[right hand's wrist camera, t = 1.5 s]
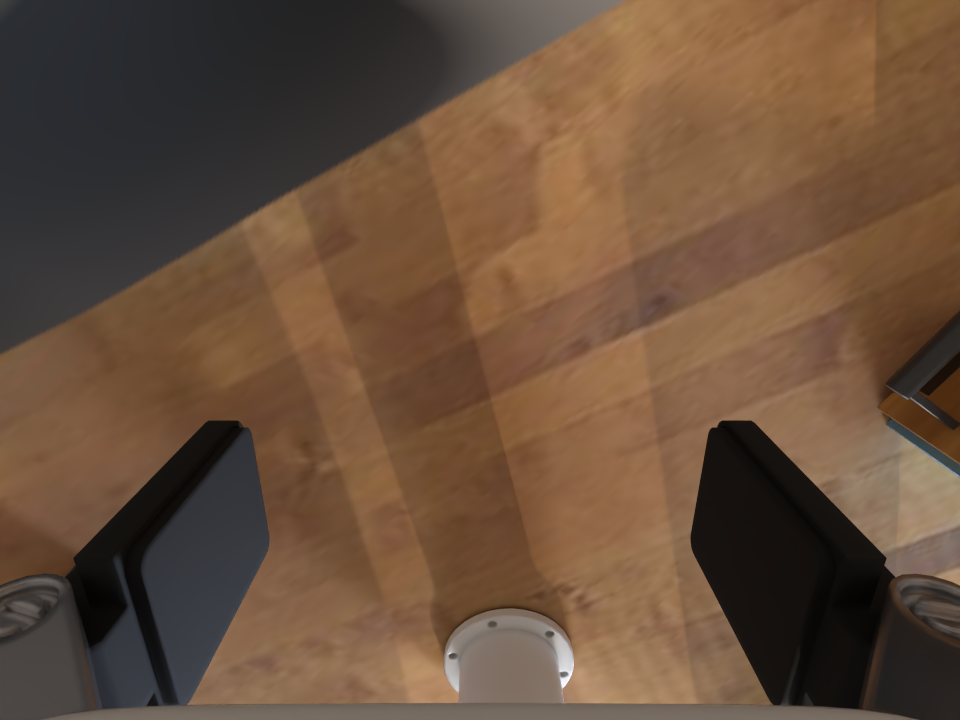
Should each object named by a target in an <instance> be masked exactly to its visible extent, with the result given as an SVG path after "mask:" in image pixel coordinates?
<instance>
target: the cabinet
mask: <svg viewBox="0 0 960 720" xmlns="http://www.w3.org/2000/svg"><path fill="white" fill-rule="evenodd" d="M886 425H887V426H889V427H890V428H891V429H893V430H894V431H896V432H897V433H898V434H900V435H901V436H903V437H904V438H905V439H907V440H908V441H910V442H911V443H912V444H914V445H915V446H916V447H918V448H919V449H921V450H922V451H923V452H925V453H926V454H928V455H929V456H930V457H932V458H933V459H935V460H936V461H937V462H939V463H940V464H941V465H943V466H944V467H946V468H947V469H948V470H950V471H951V472H953V473H954V474H955V475H957V476H958V477H960V464H958V463H957V462H955V461H954V460H953V459H951V458H950V457H948V456H947V455H945V454H944V453H942V452H941V451H939V450H938V449H936V448H935V447H933V446H932V445H930V444H929V443H927V442H926V441H924V440H923V439H921V438H920V437H918V436H917V435H916V434H914V433H913V432H911V431H910V430H908V429H907V428H905V427H904V426H902V425H901V424H899V423H898V422H896V421H895V420H893V419H891V420H889V421H888V422H887V423H886Z"/></svg>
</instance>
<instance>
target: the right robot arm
mask: <svg viewBox="0 0 960 720" xmlns="http://www.w3.org/2000/svg"><path fill="white" fill-rule="evenodd" d="M268 547H269V531H268V525H267V519H266V514H265V508H264V502H263V496H262V491H261V485H260V479H259V474H258V468H257V462H256V456H255V451H254V445H253V439H252V434H251V431H250V429H249V428H243V426H242V424H241V423H240V422H239V421H208V422H206V423H205V424H204V425H203V426H202V427H201V428H200V429H199V430H198V431H197V432H196V433H195V434H194V435H193V436H192V437H191V438H190V439H189V440H188V441H187V442H186V443H185V444H184V445H183V446H182V447H181V448H180V449H179V451H178V452H177V453H176V454H175V455H174V456H173V457H172V458H171V459H170V460H169V461H168V462H167V463H166V464H165V465H164V466H163V467H162V468H161V469H160V470H159V471H158V472H157V473H156V474H155V475H154V476H153V477H152V478H151V479H150V480H149V481H148V482H147V483H146V484H145V485H144V486H143V487H142V488H141V489H140V490H139V491H138V493H137V494H136V495H135V496H134V497H133V498H132V499H131V500H130V501H129V502H128V503H127V504H126V505H125V506H124V507H123V508H122V509H121V510H120V511H119V512H118V513H117V514H116V515H115V516H114V517H113V518H112V519H111V520H110V521H109V522H108V523H107V524H106V525H105V526H104V527H103V528H102V529H101V530H100V531H99V532H98V533H97V535H96V536H95V537H94V538H93V539H92V540H91V541H90V542H89V543H88V544H87V545H86V546H85V547H84V548H83V549H82V550H81V551H80V552H79V553H78V554H77V555H76V556H75V557H74V561H75V564H76V566H75V567H74V568H73V569H72V570H71V571H70V572H69V573H68V574H67V575H66V576H65V578H64V577H62V576H60V575H55V574H39V575H32V576H26V577H23V578H20V579H16V580H13V581H10V582H7V583H5V584H3V585H1V586H0V720H960V586H959V585H957V584H955V583H953V582H950V581H947V580H944V579H940V578H937V577H934V576H928V575H921V574H905V575H900V576H898V577H896V578H895V576H894V575H893V574H892V573H891V572H890V571H889V570H888V569H887V568H886V567H885V566H884V564H885V561H886V557H885V556H884V555H883V554H882V553H881V552H880V551H879V550H878V549H877V548H876V547H875V546H874V545H873V544H872V543H871V542H870V541H869V540H868V539H867V538H866V537H865V536H864V535H863V533H862V532H861V531H860V530H859V529H858V528H857V527H856V526H855V525H854V524H853V523H852V522H851V521H850V520H849V519H848V518H847V517H846V516H845V515H844V514H843V513H842V512H841V511H840V510H839V509H838V508H837V507H836V506H835V505H834V504H833V503H832V502H831V501H830V500H829V499H828V498H827V497H826V496H825V495H824V494H823V493H822V491H821V490H820V489H819V488H818V487H817V486H816V485H815V484H814V483H813V482H812V481H811V480H810V479H809V478H808V477H807V476H806V475H805V474H804V473H803V472H802V471H801V470H800V469H799V468H798V467H797V466H796V465H795V464H794V463H793V462H792V461H791V460H790V459H789V458H788V457H787V456H786V455H785V454H784V453H783V452H782V451H781V449H780V448H779V447H778V446H777V445H776V444H775V443H774V442H773V441H772V440H771V439H770V438H769V437H768V436H767V435H766V434H765V433H764V432H763V431H762V430H761V429H760V428H759V427H758V426H757V425H756V424H755V423H754V422H752V421H721V422H720V423H719V424H718V426H717V428H711V429H710V431H709V434H708V439H707V445H706V451H705V456H704V462H703V468H702V474H701V479H700V485H699V491H698V496H697V502H696V508H695V514H694V519H693V525H692V531H691V547H692V551H693V553H694V556H695V558H696V559H697V561H698V563H699V565H700V567H701V569H702V571H703V573H704V575H705V577H706V579H707V581H708V583H709V585H710V586H711V588H712V590H713V592H714V594H715V596H716V598H717V600H718V602H719V604H720V606H721V608H722V610H723V612H724V613H725V615H726V617H727V619H728V621H729V623H730V625H731V627H732V629H733V631H734V633H735V635H736V637H737V639H738V641H739V642H740V644H741V646H742V648H743V650H744V652H745V654H746V656H747V658H748V660H749V662H750V664H751V666H752V668H753V669H754V671H755V673H756V675H757V677H758V679H759V681H760V683H761V685H762V687H763V689H764V691H765V693H766V695H767V696H768V698H769V700H770V701H771V703H772V704H773V705H733V704H592V703H564V699H563V692H562V688H563V687H564V686H565V685H566V683H567V682H568V680H569V678H570V677H571V674H572V671H573V667H574V656H573V650H572V646H571V643H570V640H569V638H568V636H567V635H566V633H565V632H564V630H563V629H562V628H561V627H560V626H559V625H558V624H557V623H555V622H554V621H552V620H551V619H549V618H548V617H545V616H543V615H541V614H538V613H536V612H532V611H528V610H524V609H513V608H508V609H496V610H491V611H486V612H484V613H481V614H478V615H475V616H474V617H472V618H470V619H468V620H466V621H465V622H463V623H462V624H461V625H460V626H459V627H457V628H456V630H455V631H454V632H453V633H452V634H451V636H450V638H449V640H448V642H447V644H446V647H445V652H444V670H445V674H446V677H447V679H448V681H449V683H450V684H451V685H452V687H453V688H454V689H455V690H456V691H457V692H458V693H459V699H458V703H368V704H227V705H187V704H188V703H189V701H190V700H191V698H192V696H193V695H194V693H195V691H196V689H197V687H198V685H199V683H200V681H201V679H202V677H203V675H204V673H205V671H206V669H207V668H208V666H209V664H210V662H211V660H212V658H213V656H214V654H215V652H216V650H217V648H218V646H219V644H220V642H221V641H222V639H223V637H224V635H225V633H226V631H227V629H228V627H229V625H230V623H231V621H232V619H233V617H234V615H235V613H236V612H237V610H238V608H239V606H240V604H241V602H242V600H243V598H244V596H245V594H246V592H247V590H248V588H249V586H250V585H251V583H252V581H253V579H254V577H255V575H256V573H257V571H258V569H259V567H260V565H261V563H262V561H263V559H264V558H265V556H266V553H267V551H268Z"/></svg>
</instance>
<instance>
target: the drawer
mask: <svg viewBox="0 0 960 720" xmlns="http://www.w3.org/2000/svg"><path fill="white" fill-rule="evenodd" d="M885 385H886V386H887V387H888V388H890V389H891V390H893V391H894V392H893V393H892V394H891V395H889V396H888V397H887V398H886V399H885V400H884V401H883V402H882V403H881V404H880V405H879V406H878V407H877V408H878V409H879V410H880V411H882V412H883V413H885V414H886V415H887V416H889V417H890V418H892V419H893V420H895V421H896V422H898V423H899V424H901V425H902V426H904V427H905V428H907V429H908V430H910V431H911V432H913V433H914V434H916V435H917V436H918V437H920V438H921V439H923V440H924V441H926V442H927V443H929V444H930V445H932V446H933V447H935V448H936V449H938V450H939V451H941V452H942V453H944V454H945V455H947V456H948V457H950V458H951V459H953V460H954V461H955V462H957V463H958V464H960V311H959V312H958V313H957V314H956V315H955V316H954V317H953V318H952V319H951V320H950V321H949V322H948V323H947V324H946V325H944V326H943V327H942V328H941V329H940V330H939V331H938V332H937V333H936V334H935V335H934V336H933V337H932V338H931V339H930V340H929V341H928V342H927V343H926V344H925V345H924V346H923V347H922V348H921V349H920V350H919V351H918V352H917V353H916V354H915V355H914V356H913V357H912V358H911V359H910V360H909V361H908V362H906V363H905V364H904V365H903V366H902V367H901V368H900V369H899V370H898V371H897V372H896V373H895V374H894V375H893V376H892V377H891V378H890V379H889V380H888V381H887V382H886V383H885Z"/></svg>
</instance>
